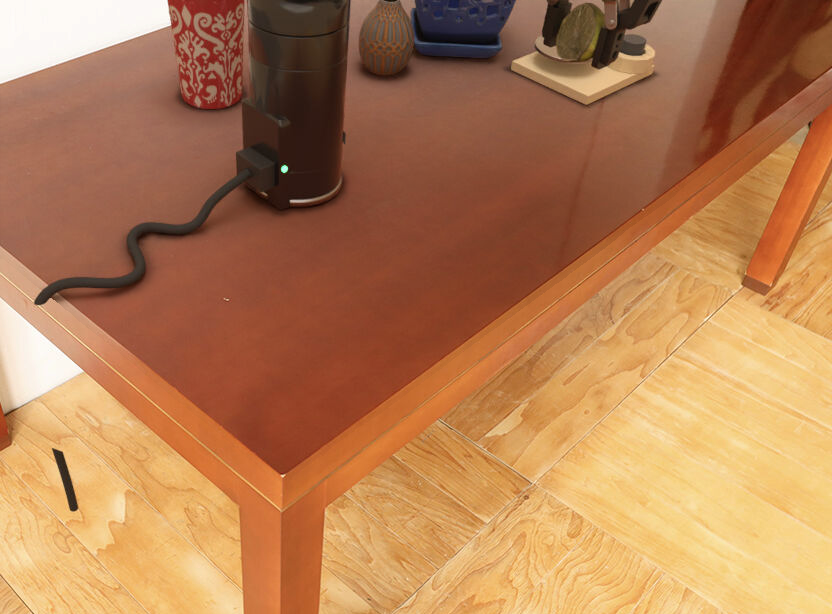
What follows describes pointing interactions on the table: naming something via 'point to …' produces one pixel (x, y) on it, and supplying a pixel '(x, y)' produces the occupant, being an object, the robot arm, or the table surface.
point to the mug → (209, 50)
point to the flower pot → (459, 27)
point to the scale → (585, 74)
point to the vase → (386, 38)
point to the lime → (580, 33)
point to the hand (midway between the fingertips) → (576, 54)
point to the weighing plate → (551, 51)
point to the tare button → (633, 45)
